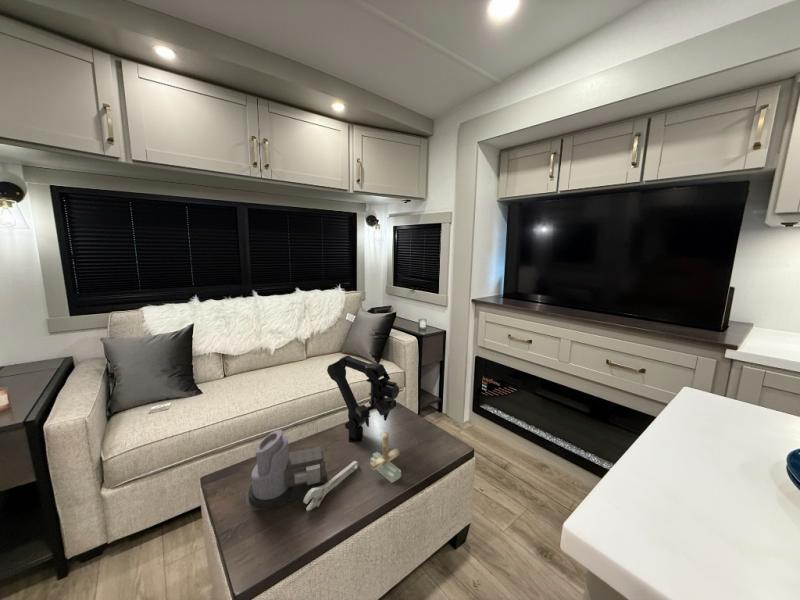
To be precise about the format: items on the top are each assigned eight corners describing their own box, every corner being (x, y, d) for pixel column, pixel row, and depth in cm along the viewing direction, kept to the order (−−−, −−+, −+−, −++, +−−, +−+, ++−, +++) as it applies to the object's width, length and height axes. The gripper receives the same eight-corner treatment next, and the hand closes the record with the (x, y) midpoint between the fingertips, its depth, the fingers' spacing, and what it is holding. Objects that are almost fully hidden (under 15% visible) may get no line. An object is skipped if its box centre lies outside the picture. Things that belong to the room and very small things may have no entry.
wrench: (358, 473, 134) (305, 518, 107) (354, 471, 135) (302, 516, 108) (359, 455, 133) (307, 496, 107) (355, 453, 134) (303, 494, 108)
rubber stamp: (373, 470, 125) (374, 442, 123) (370, 467, 127) (370, 439, 124) (399, 455, 134) (400, 428, 132) (395, 452, 136) (396, 426, 134)
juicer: (242, 516, 108) (237, 453, 104) (247, 483, 123) (243, 426, 119) (330, 494, 118) (328, 436, 114) (325, 466, 133) (324, 414, 129)
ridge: (370, 464, 135) (370, 455, 134) (379, 459, 138) (379, 450, 137) (391, 483, 125) (391, 473, 124) (400, 477, 128) (401, 467, 127)
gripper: (367, 405, 130) (367, 439, 133) (403, 394, 140) (403, 425, 143) (355, 394, 139) (355, 426, 142) (390, 384, 149) (389, 414, 152)
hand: (376, 423), depth 144 cm, fingers open, 9 cm apart
